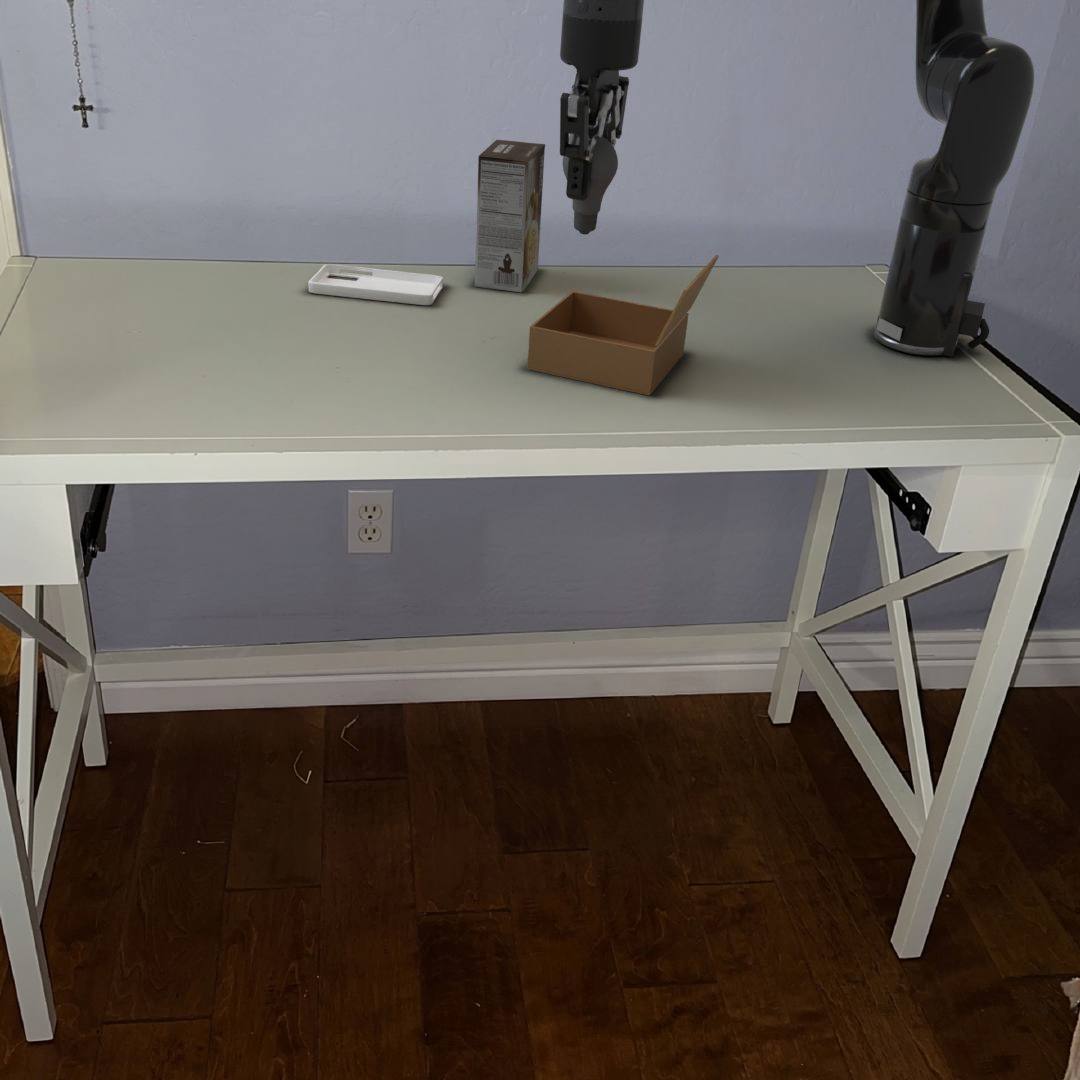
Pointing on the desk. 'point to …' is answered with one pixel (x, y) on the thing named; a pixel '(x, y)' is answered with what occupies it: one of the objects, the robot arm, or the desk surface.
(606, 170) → the light bulb
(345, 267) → the phone case
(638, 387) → the carton
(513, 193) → the coffee box
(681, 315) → the flap
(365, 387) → the desk surface
